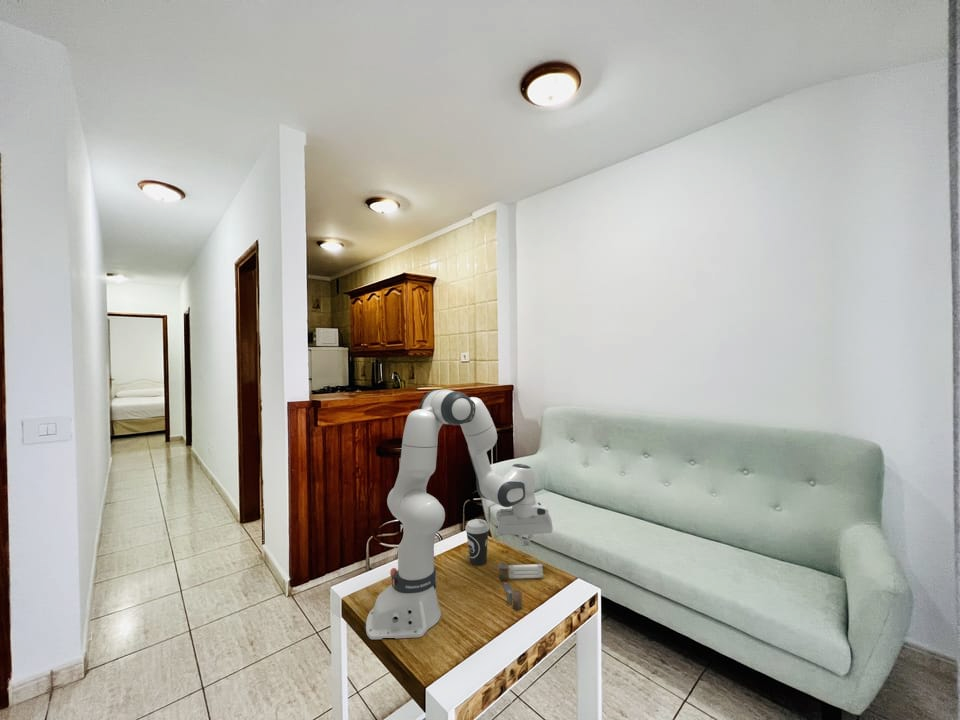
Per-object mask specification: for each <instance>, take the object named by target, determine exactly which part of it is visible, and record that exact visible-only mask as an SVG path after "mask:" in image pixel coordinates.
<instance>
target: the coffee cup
mask: <svg viewBox="0 0 960 720" xmlns="http://www.w3.org/2000/svg"><path fill="white" fill-rule="evenodd" d="M464 529H465V532H466V538H467V547H468V556H469V563H470V564H471V565H472V566H475V567H481V566H483V565H486V563H487V560H488V544H489V543H488V537H489V530H490V526H489V524H488V522H487V521H486V520H484V519H481V518H479V519H478V518H475V519H471V520H469V521H467V524H466V525H465V527H464Z"/></svg>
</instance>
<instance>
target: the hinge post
mask: <svg viewBox="0 0 960 720" xmlns="http://www.w3.org/2000/svg"><path fill="white" fill-rule="evenodd" d="M498 569H499V571H498V572H499V573H498V574H499V576H498V577H499V582H501V583H506V582H508V569H509V564H508V563H504V562H503V563H502V562H501V563H499V564H498Z"/></svg>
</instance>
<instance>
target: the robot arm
mask: <svg viewBox="0 0 960 720" xmlns="http://www.w3.org/2000/svg"><path fill="white" fill-rule="evenodd" d="M443 425H451V426H460V427H461V430H462V433H463V435H464V438H465V441H466V443H467V450H468V455H469V456H470V461H471V463H472V467H473V471H474V473H475V479H476V482H475V483H476V485H475V486H476V491H477V493H478V495H479V496H480V497H481V498H482V499H486V500H488V501H491V502H493V503H494V504H497V505H499V506H501V507H504V508H501V509H500V510H497V512H496V516H495V518H496V520H497V521H498V522H497V533H498V535H499V536H518V538H519V540H520V541H521V546H522V547H524V546H530V545H531V540H532V539H533V535H536V534H552V532H553V528H554V527H553V522H552V518H551V516H550V513H549V508H548V506H547V505H546V503H545V502H542V501H540V500H539V501H537V500H536V497H535V491H536V490H535V489H536V485H535V484H536V483H535V475H534V472H533V468H532V467H531V466H530V465H527V464H523V463H515V464H514V463H513V464H512V465H511V468H510V470H508V472H507V473H506V474H505V475H503V476H502V475H500V474H498V473H497V472H495V471H494V470H493V469H492V466H491V463H490V460H489V456H488V454H487V453H488V451H490V450H492V449H493V448H494V446H495V445H496V444H497V440H498V433H497V428H496V426H495V423H494V421H493V418H492V417H491V414H490V411H489V410H488V408H487V407H486V405H485V404H484V402H483V401H482V399H481V398H478V397H476V396H475V397H474V396H471V397H469V396H468V395H467V394H466V393H463V392H462V391H455V390H451V389H445V388H444V389H433V390H430V391H428V392H426V394H424V396H423V398H422V399H421V402H420V404H419V406H418V408H417V409H414V410H412V411H411V412H410V413H409V414H408V415H407V417H406V421H405V424H404V428H403V429H404V430H403V436H402V443H401V453H400V463H399V469H398V473H397V477H396V480H395V483H394V486H393V488H391V490H390V491H389V493H388V495H387V499H386V503H387V504H386V505H387V507H388V509H389V511H390V513H391V514H392V516H393V517H394V518H395V519H397V521H400V522H401V524H402V526H403V535H402V540H401V541H400V543H399V544H398V546H397V568H396V567H392V568H391V569H390V577H391V584H389V586H387V588H386V587H385V588H386V589H384V590H382V592H380V593H379V594H378V595H377V598H376V600H375V604H374V607H373V608H372V609H371V610H370V611H369V612H368V615H367V617H366V620H365V621H366V622H365V632H366V633H365V634H366V635H367V637H368V638H369V639H370V640H383V639H382V638H395V639H411V638H421V637H423V636H424V635H425V634H426V633H427V631H428V630H429V629H431V628H433V627H434V626H435V625H436V624H437V623H438V622H439V620H440V619H441V616H442V610H441V607H440V605H439V600H438V595H437V589H436V588H437V570H436V566H435V554H434V553H435V540H436V536H437V533H438V532H439V531H440V530H441V528H442V527H443V525H444V522H445V518H446V512H445V511H446V510H445V508H444V506H443V505H442V504H441V503H440V502H439V499H437V498H436V497H434V496H433V495H431V494H430V493H427V486H428V482H429V481H430V478H431V476H432V475H434V473H435V471H436V468H437V457H438V439H439V432H440V429H441V428H442V426H443ZM510 507H511V508H510ZM524 535H528V536H527V538H523V536H524ZM372 613H373V614H372Z"/></svg>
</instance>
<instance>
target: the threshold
mask: <svg viewBox="0 0 960 720" xmlns="http://www.w3.org/2000/svg"><path fill="white" fill-rule="evenodd" d="M502 588H503V589H504V591H505V593H506V594H507V590H511V592H512V601H513V591H514V590H513V588H512V586H511V584H510V583H504V584H503V583H502Z"/></svg>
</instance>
